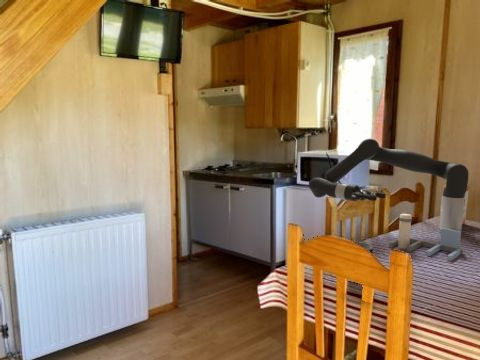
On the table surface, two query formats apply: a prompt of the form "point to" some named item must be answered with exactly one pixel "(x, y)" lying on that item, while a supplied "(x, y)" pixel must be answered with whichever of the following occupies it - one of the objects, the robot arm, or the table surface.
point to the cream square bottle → (404, 230)
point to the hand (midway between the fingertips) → (380, 197)
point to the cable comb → (447, 243)
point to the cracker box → (464, 203)
